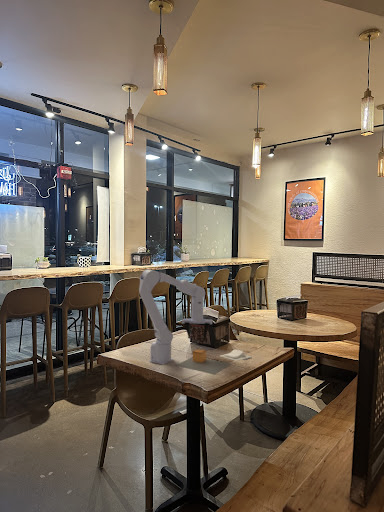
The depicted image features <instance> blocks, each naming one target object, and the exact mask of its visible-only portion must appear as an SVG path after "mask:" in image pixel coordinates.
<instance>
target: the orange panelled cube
mask: <svg viewBox="0 0 384 512" xmlns="http://www.w3.org/2000/svg"><path fill="white" fill-rule="evenodd" d="M192 357H193V361H196V362H203V361H205V360H206V359H207V350H206V349H200V348H197V349H195V350H193V351H192Z"/></svg>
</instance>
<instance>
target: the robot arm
mask: <svg viewBox="0 0 384 512" xmlns="http://www.w3.org/2000/svg"><path fill="white" fill-rule="evenodd" d="M163 282H164V283H167V284H170V285H172V286H174V287H176V288H177V290H178V291H179V292H182V294H183V293H184V294H186V295H189V296H191V313H190V315H191V318H182V321H181V324H183V325H184V329H186V330H185V331H186V333H187V338H188V339H191V324H194V325H195V324H197V325H201V324H203V326H204V327H203V329H204V331H203V334H204V335H203V340H206V338H207V334H208V331H209V328H210V326H211V325H213V319H207V318H204V297H205V296H206V291H205V289H204V288H203V286H198V284H196V283H192V282H190V281H189V279H181V280H179V279H176V278H175V277H173V276H171V275H168V274H167V273H164V272H159V271H156V270H154V269H153V270H152V269H150V268H148V269H144V270H143V271H142V273H141V275H140V276H139V286H138V292H139V293H138V294H139V295H140V298H141V299H142V300H141V301H142V302H143V305H144V307H145V309H146V312H147V314H148V315H149V318H150V320H151V322H152V324H153V330H154V336H155V338H156V340H155V341H153V342H152V343H151V345H150V360H149V362H151V363H156V364H160V365H165V364H167V363H169V362H171V361H174V358H172V341H173V339H174V335H173V333H172V332H171V330H169V328H168V326H167V324H166V323H165V322H164V318H163V317H162V315H161V312H160V310H159V308H158V306H157V303H156V302H155V298H154V296H153V294H152V291H153V289H154V287H155V286H156V285H157V284H158V283H163Z"/></svg>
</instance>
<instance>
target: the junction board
mask: <svg viewBox="0 0 384 512" xmlns="http://www.w3.org/2000/svg"><path fill="white" fill-rule="evenodd" d="M230 365H231V363H230V362H224V361H219V360H214V359H211V358H206V360H205V361H203V362H196V361H193V356H192V357H190V358H188V359H185V360H183V361H181V362H180V363H178V364H175V366H176V367H180V368H184V369H189V370H193V371H198V372H203V373H206V374H212V375H216V374H218V373H219V372H222V371H223V370H224V369H226V368H227V367H228V366H230Z"/></svg>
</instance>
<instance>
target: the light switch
mask: <svg viewBox="0 0 384 512" xmlns="http://www.w3.org/2000/svg"><path fill="white" fill-rule="evenodd" d="M219 357H221V358H225V359H228V360H232V361H235V362H239V361H240V360H242V361H247V360H249V359H252V356H250V355H247V354H245V353H244V352H243V350H239V349H233V350H232V351H230V352H229V353H225V354H221V355H219Z"/></svg>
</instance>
